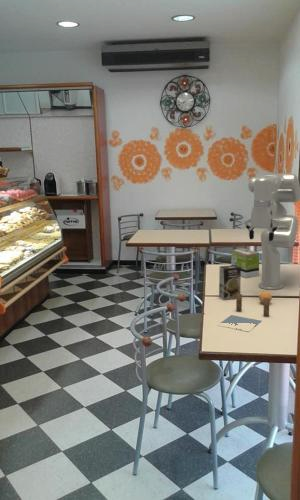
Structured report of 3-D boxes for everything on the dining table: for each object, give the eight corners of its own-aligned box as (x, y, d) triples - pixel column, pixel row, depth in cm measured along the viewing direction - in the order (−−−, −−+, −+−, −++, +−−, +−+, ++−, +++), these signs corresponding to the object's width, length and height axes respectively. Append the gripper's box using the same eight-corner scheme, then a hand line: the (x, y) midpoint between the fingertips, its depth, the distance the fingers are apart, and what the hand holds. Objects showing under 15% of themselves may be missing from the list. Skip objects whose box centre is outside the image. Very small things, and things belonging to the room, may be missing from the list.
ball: (261, 300, 208) (261, 288, 207) (273, 302, 205) (273, 290, 204) (256, 304, 203) (257, 292, 202) (269, 306, 200) (269, 294, 199)
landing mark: (231, 315, 190) (231, 314, 190) (261, 321, 182) (261, 320, 182) (217, 325, 179) (217, 325, 179) (248, 332, 171) (248, 331, 171)
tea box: (230, 273, 261) (230, 249, 258) (243, 271, 266) (244, 247, 263) (245, 278, 248) (246, 254, 245) (259, 276, 252) (260, 252, 249)
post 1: (237, 309, 197) (237, 293, 195) (242, 310, 195) (242, 294, 194) (235, 311, 195) (235, 294, 193) (240, 312, 193) (240, 295, 192)
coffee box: (224, 300, 211) (224, 268, 207) (218, 296, 217) (218, 266, 213) (240, 298, 213) (241, 267, 210) (235, 294, 219) (235, 264, 216)
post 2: (264, 314, 189) (264, 297, 188) (269, 315, 188) (270, 298, 186) (262, 316, 187) (262, 299, 186) (267, 317, 186) (268, 299, 184)
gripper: (282, 204, 200) (281, 240, 203) (248, 203, 210) (247, 237, 213) (276, 205, 194) (275, 242, 197) (241, 204, 204) (241, 239, 208)
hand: (261, 239), depth 205 cm, fingers open, 9 cm apart
